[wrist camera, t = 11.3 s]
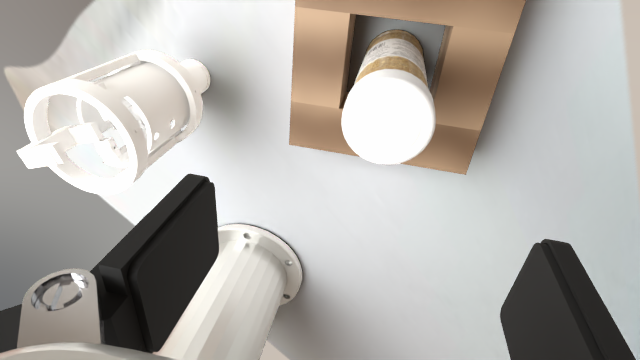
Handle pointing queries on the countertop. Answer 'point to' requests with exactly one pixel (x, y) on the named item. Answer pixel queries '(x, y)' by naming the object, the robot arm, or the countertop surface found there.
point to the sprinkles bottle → (390, 102)
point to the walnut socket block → (447, 84)
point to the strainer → (118, 117)
